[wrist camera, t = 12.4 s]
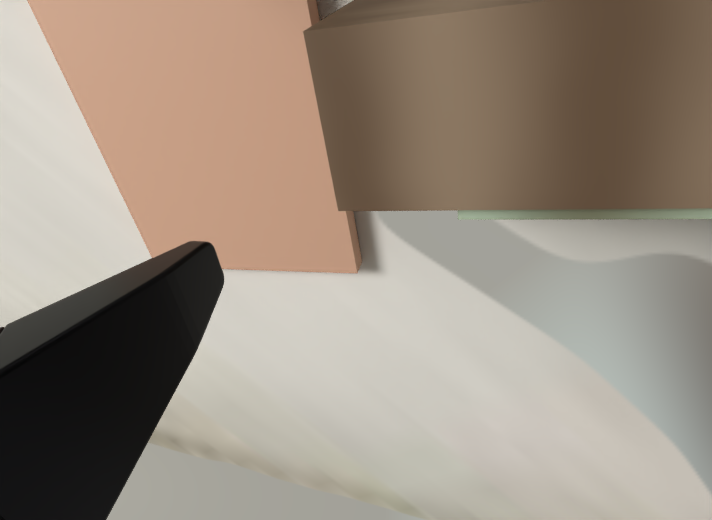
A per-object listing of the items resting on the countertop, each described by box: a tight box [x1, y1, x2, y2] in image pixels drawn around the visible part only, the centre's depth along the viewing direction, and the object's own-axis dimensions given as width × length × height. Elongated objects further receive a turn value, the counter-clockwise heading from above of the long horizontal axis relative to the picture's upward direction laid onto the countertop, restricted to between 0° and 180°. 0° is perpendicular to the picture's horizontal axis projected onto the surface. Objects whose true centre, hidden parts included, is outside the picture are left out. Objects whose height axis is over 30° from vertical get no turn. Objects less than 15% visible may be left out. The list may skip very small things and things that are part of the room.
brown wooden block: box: [303, 0, 712, 219], centre depth 14 cm, size 14×6×7 cm, turn 99°
